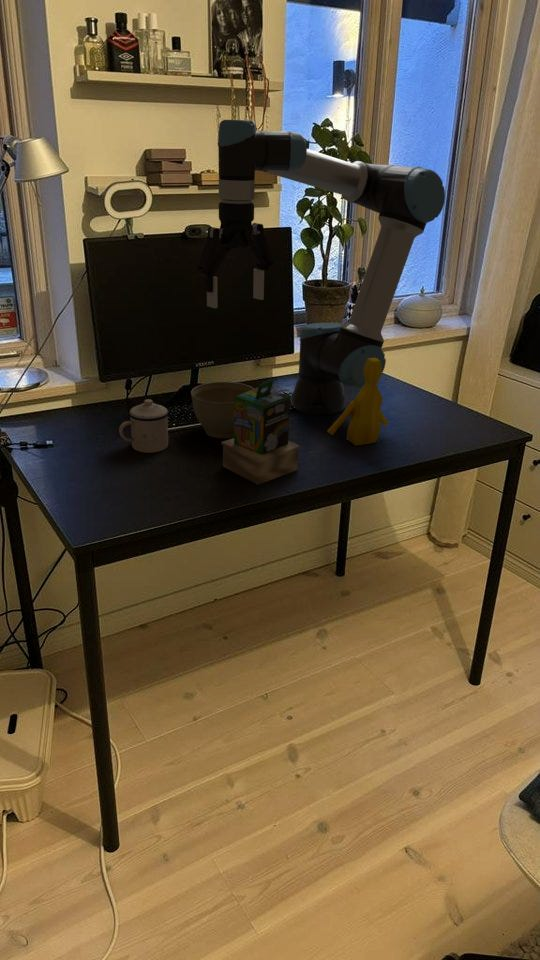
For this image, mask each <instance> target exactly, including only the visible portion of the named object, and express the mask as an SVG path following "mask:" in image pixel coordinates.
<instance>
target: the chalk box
mask: <svg viewBox="0 0 540 960" xmlns="http://www.w3.org/2000/svg"><path fill="white" fill-rule="evenodd" d="M273 383H274V380H273V379H272V380H271V379H270V380H268V381H264V382H262V383H260V384H259V385H258V386H257V387H255V388H254V387H253V388H254V389H252V390H249V391H246V392H244V393H242V394H239V395H237V396H235V397H234V444H237V445H240V446H242V447H245V448H247V449H250V450H253V451H255V452H258V453H260V454H262V455H264V454H265V453H267V452H270V451H272V450H274V449H277V448H279V447H281V446H284V445H286V444H288V441H289V434H290V433H289V432H290V431H289V430H290V416H291V415H290V413H291V412H290V410H291V409H290V408H291V396H292V395H291V396H290V395H288V394H285V393H281V392H279V391H276V390H272V387H273ZM266 387H267V388H266Z"/></svg>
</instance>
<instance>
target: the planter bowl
mask: <svg viewBox="0 0 540 960" xmlns="http://www.w3.org/2000/svg"><path fill="white" fill-rule="evenodd" d="M252 389H254V387H253V386H250V385H247V384H245V383H240V382H235V381H234V382H233V381H212V382H206V383H203V384H200V385H197V386H195V387H193V388H192V389H191V391H190V396H191V399H192V401H191V402H192V407H193V411H194V414H195V416H196V419H197V420H198V422H199V424H200V425H201V426H202V427H203V429H204V432H205V434H206V435H207V436H209V437H212V438H215V439H233V438H234V397H235V396H237V395H239V394H242V393H244V392H246V391H249V390H252Z"/></svg>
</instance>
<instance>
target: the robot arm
mask: <svg viewBox="0 0 540 960" xmlns="http://www.w3.org/2000/svg"><path fill="white" fill-rule="evenodd" d="M217 139H218V140H217V147H218V149H217V150H218V155H217V156H218V158H217V159H218V199H219V200H221V201H219V203H218V220H219V222H220V226H219V228H218V227H214V226H209V227H208V228H207V238H206V241H205V244H204V246H203V250H202V253H201V255H200V257H199V261H198V264H197V266H196V268H195V269H196V270H195V272H196V273H197V274H199V275H201V276H203V278H204V292H206V307H209V308H212V309H218V306H219V305H218V304H219V303H218V302H219V301H218V298H219V297H218V277H217V276H215V275H216V273H217V272H218V270H219V269H220V267H221V265H222V263H223V262H224V260H225V257H226V256H227V254H228V253H229V252H230V251H231V250H232V249H238V248H244V250H245V251H246V252H247V254H248V256H249V258H250V259H251V260H252V262H253V264H254V265H255V266H256V268H253V287H252V288H253V289H252V298H253V299H256V300H259V301H260V300H261V301H262V300H264V299H265V297H264V296H265V295H264V294H265V284H266V281H267V280H266V279H267V277H266V276H267V271H269V270H270V268H271V267H272V266H273V265H274V260H273V257H272V253H271V250H270V248H269V246H268V243H267V239H266V236H265V233H264V232H265V231H264V224H262V223H257V222H253V221H254V220H255V204H254V202H252V201H255V191H256V190H255V187H256V186H255V185H256V184H255V179H256V177H255V176H256V171H258V172H263V173H267V174H271V175H274V176H277V177H281V178H284V179H288V180H290V181H294V182H297V183H301V184H304V185H308V186H310V187H314V188H316V189H317V188H318V189H320V190H324V191H328V192H331V193H334V194H338V195H340V196H342V197H343V199H344V200H345V201H347V202H348V203H349V202H350V203H353V204H356V205H358V206H360V207H363V208H366V209H368V210H369V211H373V212H375V213H377V214H378V217H377V219H378V221H379V223H380V229H379V233H378V235H377V236H378V237H377V239H376V242H375V244H374V248H373V250H372V254H371V256H370V260H369V262H368V265H367V268H366V271H365V274H364V277H363V280H362V283H361V285H360V288H359V291H358V294H357V297H356V300H355V303H354V305H353V309H352V312H351V314H350V318H349V320H348V321H347V322H346V323H344V324H342V323H339V322H316V323H315V322H314V323H309V324H306V325H304V326H303V327H302V328H301V330H300V337H299V341H300V342H299V362H298V377H297V381H296V383H295V387H294V390H293V393H292V394H291V399H290V405H291V404H292V405H293V406H294V407H295V408H296V411H298V412H301V413H304V414H309V415H315V416H327V415H334V414H338V413H340V412H343V411H345V409H346V408H345V407H346V397H345V395H344V393H343V392H344V391H343V390H344V389H343V386H342V385H344V386H348V387H351V388H353V389H359V390H361V389H362V387H363V386H364V384H365V378H364V373H363V370H364V366H365V364H366V361H367V359H368V358H374V357H375V358H377V359H378V360H380V361H381V365H382V374H383V373H384V371H385V367H386V363H387V362H386V361H387V359H386V357H385V352H384V350H382V347H383V345H384V344H385V343H384V342H385V339H384V337H383V334H382V330H383V328H384V324H385V322H386V319H387V316H388V314H389V311H390V308H391V305H392V303H393V300H394V296H395V294H396V291H397V289H398V285H399V284H400V279H401V277H402V275H403V271H404V270H405V269H404V268H405V267H406V263H407V260H408V258H409V255H410V252H411V250H412V246H413V244H414V241H415V238H417V237H419V236H420V235H422V234H423V233H424V232H425V229H426V226H427V223H430V222H433V221H434V220H435V219H436V218H438V217H439V216H440V214H441V212H442V210H443V208H444V205H445V201H446V190H445V186H444V185H443V180H442V178H441V177H440V176H439V174H438V173H437V172H436V171H434V170H432V169H429V168H425V167H421V166H405V165H404V166H403V165H395V164H374V163H367V162H364V161H360V160H356V161H353V162H349V161H346V160H342V159H340V158H336V157H333V156H331V155H327V154H324V153H321V152H318V151H315V150H313V149H309V148H308V146H307V141H306V139H305V137H304V136H303V134H301V133H300V132H296V131H290V130H286V131H284V130H282V131H276V130H275V131H274V130H257V127H256V123H255V121H254V120H251V119H222V120H221V121H220V123H219V125H218V137H217ZM252 237H253V238H252Z"/></svg>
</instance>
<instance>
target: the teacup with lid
mask: <svg viewBox="0 0 540 960" xmlns="http://www.w3.org/2000/svg"><path fill="white" fill-rule="evenodd" d="M128 415H129V417H130V420H126V421H124V422H122V423H121V424H120V426H119V428H118V432H119V435H120V438H121V439H122V440H124V441H126V442H131V446H132V448H133V449H134V450H135V451H137V452H139V453H144V454H145V453H147V454H151V453H158V452H163V451H164V450H166V449H167V448H168V446H169V427H168V425H169V424H168V423H169V422H168V415H169V410H168V409H167V408H166V407H165V406H163V405H160V404H157V403H155V402H153V400H152V399H150V398H149V399H148V398H147V399H145V400H143V403H141V404H138V405H135V406H132V408H130V411H129V413H128ZM126 426H130V432H131V433H130V434H131V437H127V436H125V433H124V428H126Z"/></svg>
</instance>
